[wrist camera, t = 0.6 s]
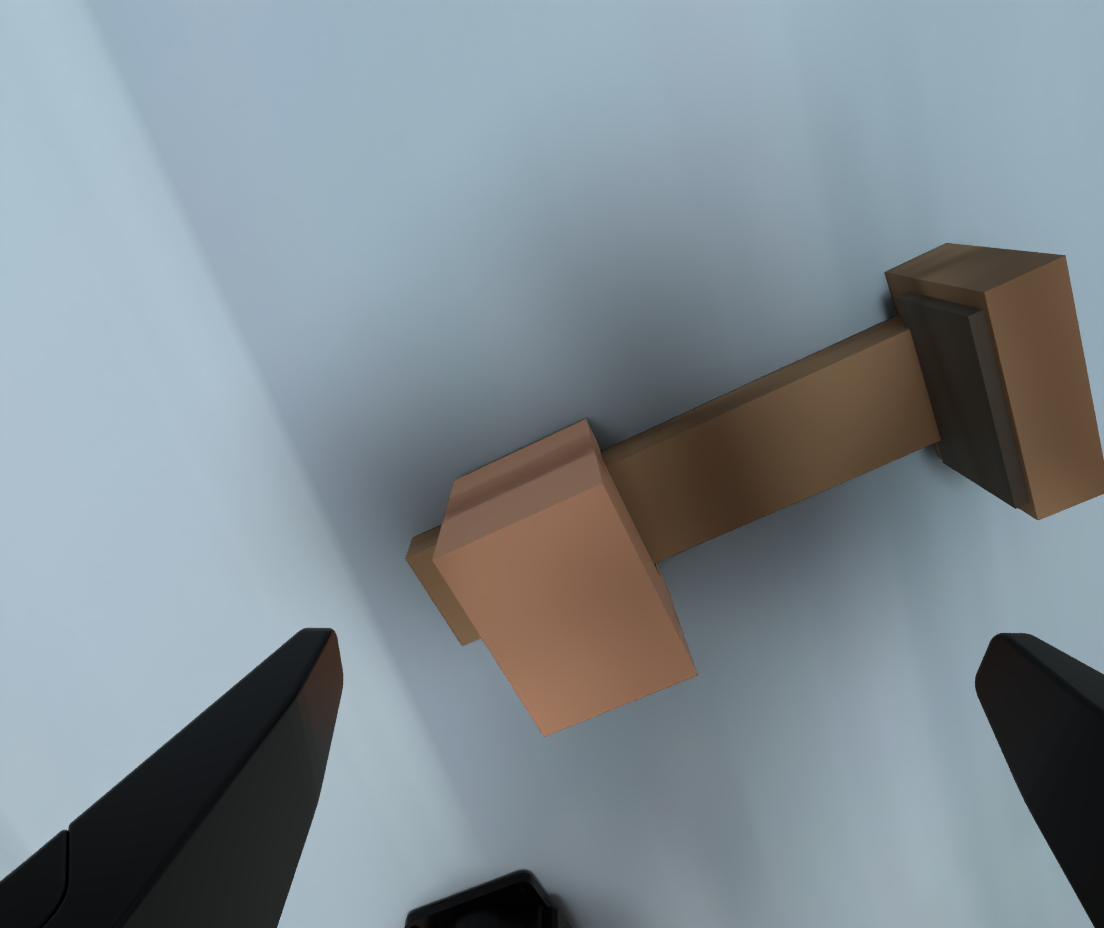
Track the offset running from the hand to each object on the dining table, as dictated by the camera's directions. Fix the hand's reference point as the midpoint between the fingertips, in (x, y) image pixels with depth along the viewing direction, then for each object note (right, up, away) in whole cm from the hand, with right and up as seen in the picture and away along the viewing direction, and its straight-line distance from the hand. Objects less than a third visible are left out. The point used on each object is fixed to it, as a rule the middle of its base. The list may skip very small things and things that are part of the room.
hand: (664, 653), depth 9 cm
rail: (+3, +2, +14) cm, 15 cm away
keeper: (-1, 0, +15) cm, 15 cm away
